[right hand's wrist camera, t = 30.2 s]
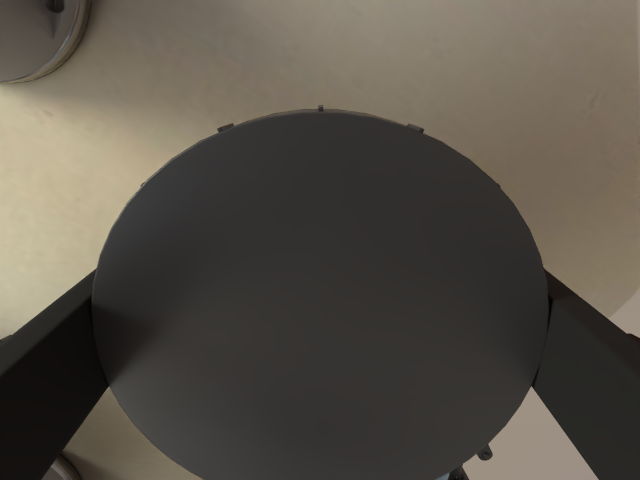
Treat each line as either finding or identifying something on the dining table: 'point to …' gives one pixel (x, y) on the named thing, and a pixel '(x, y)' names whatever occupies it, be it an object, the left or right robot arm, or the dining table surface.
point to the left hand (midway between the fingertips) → (335, 335)
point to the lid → (320, 303)
